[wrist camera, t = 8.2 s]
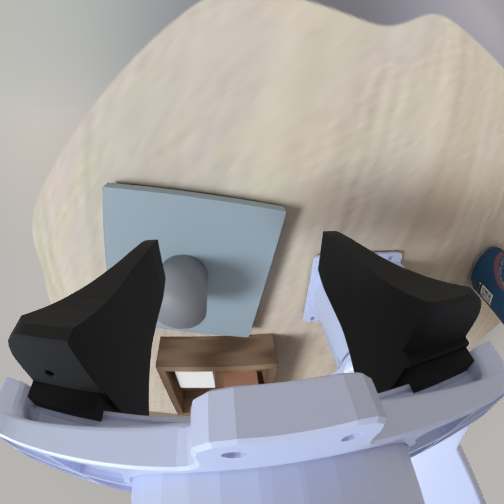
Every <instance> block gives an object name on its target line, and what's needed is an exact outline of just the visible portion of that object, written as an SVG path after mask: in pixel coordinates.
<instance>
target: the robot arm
mask: <svg viewBox="0 0 504 504" xmlns="http://www.w3.org/2000/svg"><path fill="white" fill-rule="evenodd" d="M389 257H390V258H389ZM401 259H402V254H401V253H400V252H398V251H397V252H372V251H370V250H369V249H367V248H365V247H364V246H362V245H360V244H359V243H357V242H355V241H354V240H352V239H350V238H349V237H347V236H345V235H343V234H342V233H339V232H337V231H323V238H322V245H321V252H320V255H317V256H315V257H314V259H313V263H312V269H311V275H310V281H309V287H308V292H307V298H306V303H305V308H304V314H303V320H304V321H305V322H313V321H320V323H321V325H322V328H323V331H324V333H325V336H326V339H327V341H328V344H329V347H330V350H331V352H332V355H333V358H334V361H335V364H336V366H337V369H338V370H337V371H336V372H334V373H333V374H332V375H327V376H321V377H315V378H309V379H302V380H294V381H286V382H278V383H268V384H257V385H244V386H231V387H226V388H220V389H214V390H210V391H208V392H206V393H205V394H203V395H201V396H199V397H197V398H196V399H194V400H193V402H192V407H191V418H173V417H155V416H149V372H150V358H151V348H152V342H153V336H154V332H155V328H156V324H157V320H158V316H159V312H160V309H161V305H162V301H163V296H164V289H165V280H166V277H165V272H164V268H163V263H162V258H161V253H160V248H159V243H158V239H157V240H144V241H143V242H141V243H140V244H139V245H138V246H136V247H135V248H134V249H133V250H132V251H130V252H129V253H128V254H127V255H126V256H125V257H123V258H122V259H121V260H120V261H119V262H118V263H116V264H115V265H114V266H112V267H111V268H110V269H109V270H107V271H106V272H105V273H104V274H102V275H101V276H100V277H98V278H97V279H96V280H94V281H93V282H91V283H90V284H88V285H87V286H85V287H83V288H82V289H80V290H78V291H76V292H75V293H73V294H71V295H69V296H68V297H66V298H64V299H62V300H60V301H58V302H56V303H53V304H51V305H49V306H47V307H44V308H42V309H39V310H36V311H33V312H31V313H28V314H25V315H22V316H21V318H20V319H19V321H18V323H17V325H16V326H15V328H14V330H13V332H12V333H11V335H10V337H9V339H8V343H9V347H10V350H11V352H12V354H13V356H14V357H15V359H16V360H17V361H18V363H19V364H20V365H21V366H22V368H23V369H24V370H25V371H26V372H27V374H28V375H29V376H30V377H31V378H32V379H33V383H32V386H31V387H30V386H29V385H27V384H26V383H23V382H20V381H17V380H14V379H11V378H6V379H5V381H4V384H3V386H2V389H1V391H0V438H1V439H2V440H3V441H5V442H6V443H8V444H9V445H10V446H12V447H13V448H15V449H16V450H18V451H20V452H21V453H23V454H24V455H26V456H27V457H29V458H32V459H34V460H36V461H38V462H41V463H43V464H45V465H48V466H50V467H53V468H55V469H57V470H60V471H63V472H65V473H68V474H70V475H73V476H76V477H79V478H82V479H85V480H88V481H92V482H94V483H98V484H101V485H105V486H108V487H112V488H116V489H120V490H124V491H129V492H132V498H131V504H486V503H485V500H484V497H483V495H482V492H481V490H480V487H479V485H478V483H477V480H476V478H475V475H474V473H473V471H472V468H471V467H470V464H469V462H468V460H467V458H466V455H465V453H464V451H463V449H462V447H461V446H460V441H461V440H462V438H463V436H464V434H465V432H466V430H467V428H468V427H469V425H470V424H471V423H473V422H474V421H476V420H477V419H479V418H480V417H481V416H483V415H484V414H485V413H486V412H487V411H488V410H490V409H491V408H492V407H493V406H494V405H495V404H496V403H497V402H498V401H499V400H500V399H501V398H502V397H503V396H504V362H503V360H502V359H501V357H500V356H499V354H498V353H497V351H496V350H495V348H494V347H493V345H492V344H491V343H490V342H486V343H484V344H482V345H480V346H478V347H476V348H474V349H473V350H472V351H470V353H469V351H468V350H467V348H466V347H467V346H468V345H469V342H468V340H467V339H466V337H465V336H466V335H467V333H468V332H469V330H470V328H471V327H472V325H473V324H474V322H475V320H476V318H477V316H478V314H479V312H480V309H481V300H480V298H479V296H478V295H477V294H476V293H475V292H474V291H473V290H472V289H471V288H470V287H466V286H461V285H456V284H451V283H446V282H443V281H439V280H435V279H432V278H429V277H426V276H423V275H420V274H418V273H415V272H412V271H410V270H407V269H406V268H405V267H404V266H403V265H402V264H401V263H400V262H401ZM311 317H312V318H311Z"/></svg>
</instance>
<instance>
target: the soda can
mask: <svg viewBox="0 0 504 504" xmlns="http://www.w3.org/2000/svg"><path fill="white" fill-rule="evenodd" d="M471 280H472V285H473V288H474V289H475V290H476V292H477V293H478V294H479V295H480V296H481V297H482V298H483V300H484V301H485V302H486V303H487V304H488V305H489V307H490V308H491V309H492V310H493V312H494V313H495V314H496V315H497V316H498V318H499V319H500V320H501V322H502V323H503V324H504V251H503V250H501V249H500V248H491V247H490V248H487V249H485V250H484V251H483V252H482V253H481V254H480V255H479V257H478V258H477V259H476V261H475V263H474V265H473V267H472V270H471Z"/></svg>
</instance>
